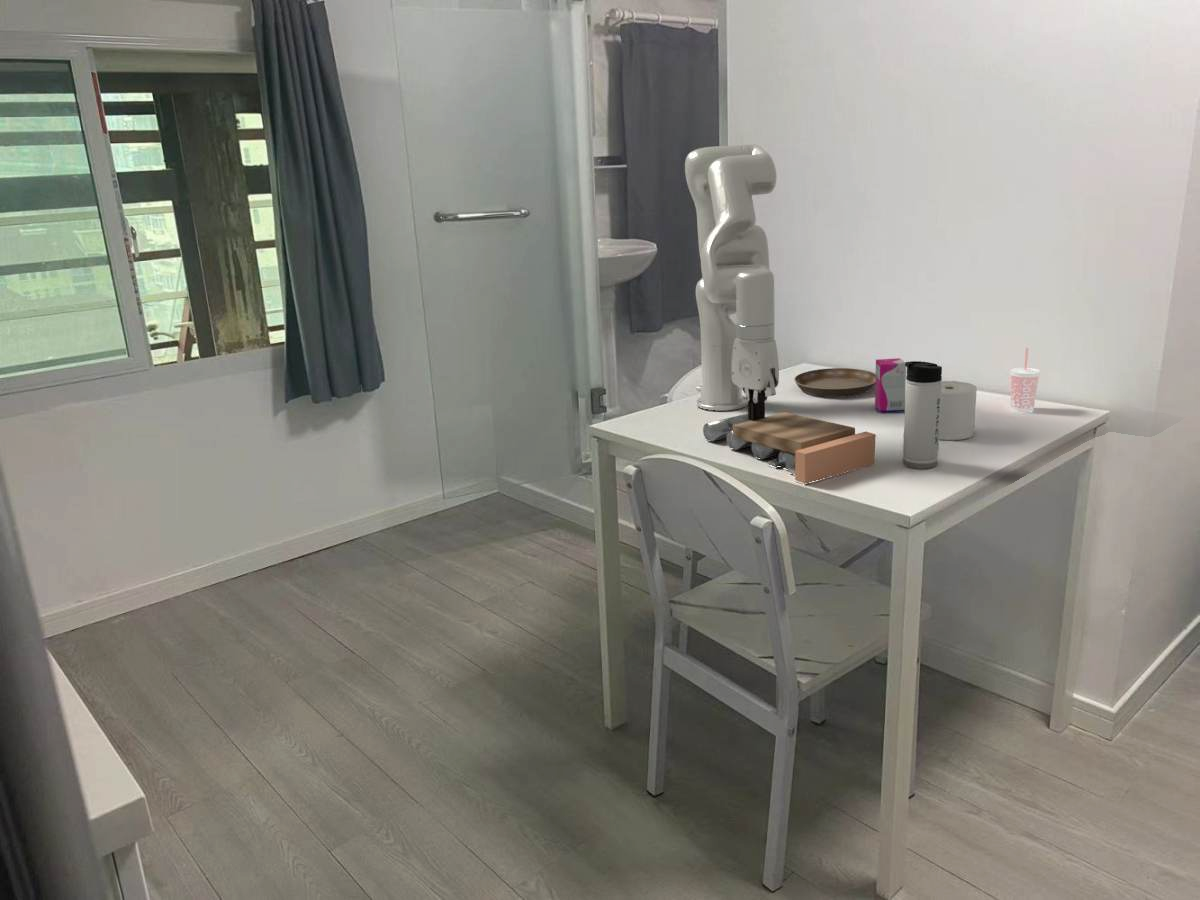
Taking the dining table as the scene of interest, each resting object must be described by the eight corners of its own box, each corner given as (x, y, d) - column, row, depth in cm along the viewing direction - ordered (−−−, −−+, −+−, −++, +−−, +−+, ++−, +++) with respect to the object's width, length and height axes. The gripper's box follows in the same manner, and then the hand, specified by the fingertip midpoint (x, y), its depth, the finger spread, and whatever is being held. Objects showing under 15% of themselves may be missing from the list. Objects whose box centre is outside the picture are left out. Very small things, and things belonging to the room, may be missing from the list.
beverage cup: (1007, 413, 204) (1012, 350, 200) (1007, 405, 209) (1011, 345, 205) (1037, 414, 202) (1043, 351, 197) (1036, 406, 207) (1041, 345, 203)
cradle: (768, 466, 180) (768, 461, 180) (821, 451, 187) (821, 446, 186) (795, 476, 174) (795, 470, 173) (849, 460, 180) (849, 455, 180)
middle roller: (726, 446, 192) (727, 428, 190) (770, 434, 198) (771, 417, 196) (738, 452, 189) (739, 435, 187) (782, 441, 195) (784, 423, 193)
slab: (733, 436, 189) (732, 425, 188) (784, 423, 195) (784, 412, 195) (801, 455, 172) (800, 442, 171) (855, 440, 179) (854, 427, 178)
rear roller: (703, 439, 199) (702, 421, 197) (746, 428, 204) (746, 411, 203) (714, 443, 195) (714, 425, 194) (758, 432, 201) (758, 414, 200)
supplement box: (899, 405, 215) (901, 357, 211) (905, 412, 209) (907, 363, 206) (874, 406, 215) (875, 358, 212) (878, 413, 210) (880, 364, 206)
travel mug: (895, 460, 178) (899, 359, 172) (928, 457, 179) (933, 356, 173) (908, 471, 172) (913, 366, 166) (943, 467, 173) (948, 363, 167)
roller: (822, 452, 185) (826, 434, 183) (837, 460, 182) (840, 442, 180) (777, 465, 179) (780, 446, 177) (791, 474, 176) (794, 455, 174)
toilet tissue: (978, 440, 187) (981, 393, 184) (916, 441, 189) (919, 393, 186) (968, 425, 197) (971, 380, 194) (909, 426, 199) (911, 381, 196)
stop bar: (795, 481, 171) (795, 450, 169) (864, 460, 179) (865, 431, 178) (804, 485, 169) (804, 454, 167) (874, 463, 177) (875, 434, 176)
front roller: (751, 455, 185) (752, 437, 184) (795, 443, 191) (797, 425, 190) (764, 462, 182) (765, 443, 181) (809, 449, 188) (810, 431, 186)
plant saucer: (836, 405, 219) (836, 391, 218) (777, 390, 236) (777, 377, 235) (896, 389, 230) (896, 376, 229) (835, 376, 246) (835, 364, 245)
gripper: (717, 330, 190) (719, 415, 196) (765, 339, 178) (766, 430, 183) (746, 325, 194) (747, 409, 199) (795, 334, 181) (794, 423, 187)
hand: (756, 419), depth 191 cm, fingers closed
